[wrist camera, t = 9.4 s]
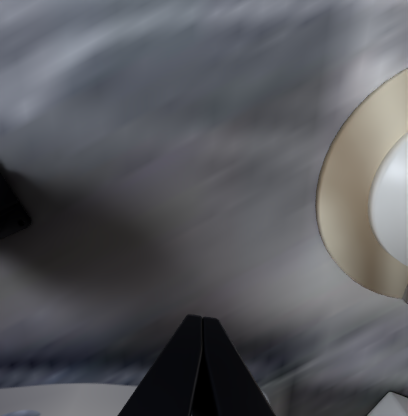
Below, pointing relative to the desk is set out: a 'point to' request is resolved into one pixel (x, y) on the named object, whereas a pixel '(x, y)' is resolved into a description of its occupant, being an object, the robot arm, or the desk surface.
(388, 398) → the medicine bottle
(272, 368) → the desk surface
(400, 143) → the dial
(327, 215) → the base plate
